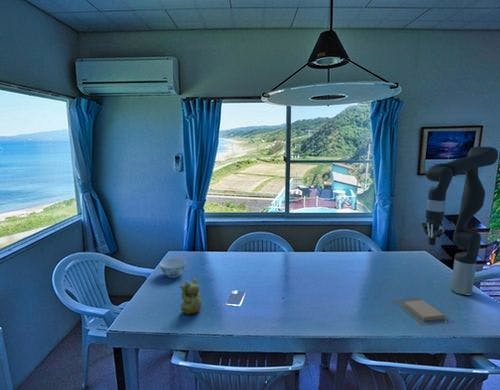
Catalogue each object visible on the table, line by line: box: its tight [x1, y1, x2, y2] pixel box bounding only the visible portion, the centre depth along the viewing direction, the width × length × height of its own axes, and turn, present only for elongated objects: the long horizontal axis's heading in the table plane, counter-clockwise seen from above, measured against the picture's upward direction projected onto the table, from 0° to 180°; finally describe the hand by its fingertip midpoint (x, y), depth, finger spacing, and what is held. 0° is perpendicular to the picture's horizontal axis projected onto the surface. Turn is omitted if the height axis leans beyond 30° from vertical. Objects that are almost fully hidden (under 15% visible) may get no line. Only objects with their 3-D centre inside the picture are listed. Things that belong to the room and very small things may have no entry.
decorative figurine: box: [179, 277, 202, 316], centre depth 140 cm, size 10×8×15 cm
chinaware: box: [159, 257, 187, 279], centre depth 179 cm, size 15×15×8 cm
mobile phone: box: [225, 290, 246, 308], centre depth 154 cm, size 8×1×15 cm
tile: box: [404, 299, 445, 321], centre depth 141 cm, size 2×10×13 cm
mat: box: [390, 296, 454, 326], centre depth 142 cm, size 22×16×1 cm
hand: (431, 244), depth 147 cm, fingers closed
